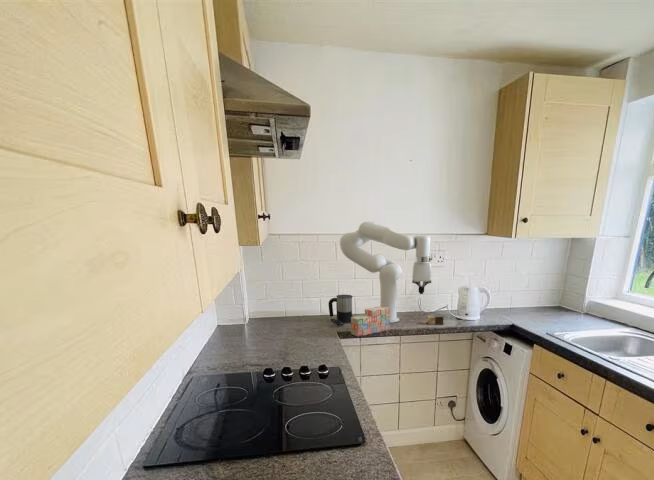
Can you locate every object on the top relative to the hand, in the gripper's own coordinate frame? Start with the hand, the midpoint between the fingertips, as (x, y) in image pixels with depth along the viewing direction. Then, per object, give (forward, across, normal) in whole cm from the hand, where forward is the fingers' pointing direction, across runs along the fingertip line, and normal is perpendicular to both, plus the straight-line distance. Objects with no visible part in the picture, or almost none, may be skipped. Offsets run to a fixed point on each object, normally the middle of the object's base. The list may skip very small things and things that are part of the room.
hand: (421, 293), depth 228 cm
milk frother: (+17, +45, -1) cm, 48 cm away
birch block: (+17, -6, 0) cm, 18 cm away
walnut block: (+17, -11, 0) cm, 20 cm away
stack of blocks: (+17, +28, +18) cm, 38 cm away
